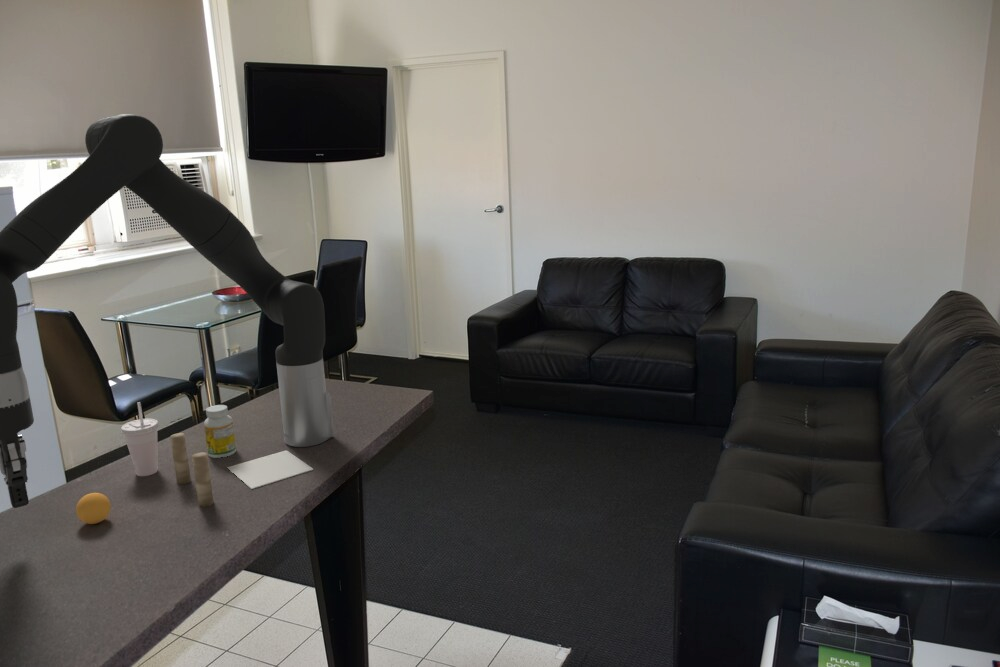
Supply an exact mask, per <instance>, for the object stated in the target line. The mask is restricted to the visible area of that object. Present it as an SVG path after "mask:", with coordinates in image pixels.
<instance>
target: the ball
mask: <svg viewBox="0 0 1000 667" xmlns="http://www.w3.org/2000/svg"><path fill="white" fill-rule="evenodd" d="M111 508H112V507H111V501H110V500H109V498H108V497H107V495H104V494H102V493H100V492H90V493H88V494H85V495H83V496H82V497H81V498H80V499H79V500H78V502H77V504H76V506H75V513H76V516H77V518H78V519H79V520H80V521H81V522H83V523H85V524H87V525H88V524H89V525H93V524H94V525H95V524H98V523H101V522H102V521H104V520H105V519H107V517H108V516H109V514H110V512H111Z"/></svg>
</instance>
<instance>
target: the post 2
mask: <svg viewBox="0 0 1000 667" xmlns="http://www.w3.org/2000/svg"><path fill="white" fill-rule="evenodd" d="M191 460H192V467H193V473H194V479H195V481H194V482H195V488H196V494H197V501H198V506H199V507H201V508H208V507H209V506H212V505H214V503H215V502H214V496H213V494H214V493H213V489H212V488H213V487H212V481H211V472H210V466H209V458H208V452H205V451H204V452H203V451H202V452H201V451H200V452H196V453H194V454H192V455H191Z"/></svg>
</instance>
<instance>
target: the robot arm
mask: <svg viewBox="0 0 1000 667" xmlns="http://www.w3.org/2000/svg"><path fill="white" fill-rule="evenodd" d="M84 138H85V147H86V150H87V153H88V155H89V156H88V157H87V158H86V159H85V160H84V161H83V162H81V164H80V165H79V166H78V167H77V168H76V169H75V170H73V171H72V172H71V173H70V174H68V175H67V176H66V177H64V178H63V179H62V180H61V181H59V182H58V183H56V184H55V185H53V186H52V187H51V188H49V189H47V190H46V191H45V192H43V193H41V194H40V195H39V196H38V197H37V198H35V199H34V200H33V201H31V202H30V203H29V204H28V205H27V206H26V207H24V208H23V209H22V210H21V211H20V212H19V213H18V214H17V215H15V216H14V218H12V220H10V221H9V222H8V224H6V226H4V227H3V229H1V231H0V473H1V475H3V477H4V478H3V481H4V483H5V485H6V486H7V490H8V497H9V501H10V504H11V506H12V508H14V509H18V508H20V507H21V508H22V507H24V506H28V504H29V502H30V501H29V495H28V490H27V486H26V485H27V484H26V483H28V480H29V478H28V474H27V473H28V472H27V471H28V470H27V469H28V462H27V457H26V452H27V445H26V441H25V439H24V438H23V435H22V434H18V433H20V432H21V431H23V430H24V431H25V430H27V429H28V428H30V427H31V426H32V425H33V424H34V422H35V419H34V413H33V408H32V403H31V397H30V392H29V386H28V385H29V384H28V381H27V377H26V374H25V372H24V369H23V364H22V359H21V352H20V347H19V343H18V340H17V334H18V333H17V331H18V318H19V317H18V314H19V313H18V312H19V308H18V298H17V293H16V290H15V286H14V285H13V282H15V281H16V280H18V278H20V277H21V276H22V275H23V274H26V273H28V272H29V273H30V272H32V271H36V270H37V269H39V268H40V267H42V265H44V264H45V263H46V262H47V260H49V259H50V257H51V256H53V254H54V253H55V252H56V251H57V250H58V249H60V247H62V245H63V244H64V243H65V242H66V241H67V240H68V239H69V238H70V237H71V236H72V235H73V234H74V233H75V232H76V231H77V230H78V228H80V227H81V225H82V224H83V223H84V222H86V221H87V220H88V218H90V217H91V216H92V215H93V214H94V213H95V212H96V211H97V210H98V209H99V208H100V207H101V206H102V205H104V204H105V203H106V202H107V201H108V200H109V199H110V198H112V197H113V196H115V194H117V193H118V192H119V191H120V190H122V189H123V188H124V187H125V188H127V189H128V190H130V191H131V192H132V193H134V194H135V195H136V196H138V197H139V199H140V198H141V199H142V200H143V202H145V203H146V204H147V205H148V206H149V207H150V208H151V209H152V210H154V211H155V213H156V214H157V215H158V216H159V217H161V219H163V220H164V222H165V223H167V224H168V225H169V226H170V227H171V228H172V229H173V230H175V231H176V232H177V234H179V235H180V236H181V237H182V238H183V239H184V240H185V241H186V242H187V243H188V244H189V245H190V246H191V247H193V248H194V249H195V250H196V251H197V252H198V253H199V254H200V255H202V256H203V257H204V258H205V259H206V260H207V261H208V262H210V263H211V264H212V265H213V266H215V268H216V269H218V270H219V271H220V272H222V273H223V274H224V275H225V276H227V277H228V278H229V279H230V280H231V281H233V282H234V283H235V284H237V285H238V286H239V287H240V288H241V289H242V290H243V291H244V292H245V293H246V294H247V295H248V296H249V297H250V299H251V300H252V301H253V302H254V303H255V305H257V307H259V309H260V310H261V311H262V312H263V314H265V315H266V317H267V318H269V320H271V321H272V322H273V323H275V324H278V325H279V326H283V343H282V344H280V345H278V346H277V347H275V348H276V349H275V353H274V354H275V363H276V364H275V365H276V370H277V371H276V372H277V381H278V392H279V401H280V410H281V411H280V412H281V420H282V428H283V439H284V444H286V445H288V446H292V447H297V448H298V447H299V448H303V447H304V448H305V447H306V448H307V447H312V446H313V447H314V446H317V445H319V444H323V443H325V442H326V441H327V440H329V439H331V438H333V437H335V435H334V433H335V432H334V423H333V422H334V421H333V412H332V411H333V410H332V399H331V394H330V393H329V392H328V391H327V387H326V377H325V375H326V374H325V366H324V353H323V352H324V351H323V350H324V347H325V344H326V318H325V316H326V315H325V304H324V300H323V296H322V294H321V292H320V290H318V288H317V287H315V286H314V285H312V284H310V283H306V282H301V281H296V280H292V279H290V278H288V277H287V276H285V275H283V273H281V272H280V271H279V270H278V269H276V268H275V267H274V266H273V265H271V263H270V262H268V261H267V260H266V258H265V257H264V256H263V255H262V253H261V252H260V249H259V248H258V246H257V243H256V241H255V239H254V237H253V235H252V234H251V232H250V230H249V229H248V228H247V227H246V226H245V224H244V223H243V222H242V220H240V219H239V218H238V217H237V216H236V215H235V214H234V213H233V212H232V211H231V210H230V209H229V208H228V207H227V206H226V205H224V203H222V202H221V201H219V200H218V199H216V198H215V197H214V196H212V195H211V194H209V193H208V192H206V191H204V190H202V189H200V187H197V186H196V185H194V184H192V183H191V182H189V181H188V180H185V179H184V178H183V177H181V176H179V174H176V173H175V172H174V171H173V170H172V169H170V168H169V167H168V166H167V165H166V164H165V163H164V162H163V161H162V160H161V159H160V158H161V157H162V153H163V150H164V142H163V141H164V140H163V137H162V133H161V132H160V130H159V128H158V127H157V125H155V123H153V122H152V121H151V120H150V119H148V118H146V117H144V116H142V115H139V114H133V113H127V114H126V113H122V114H118V115H112V116H107V117H104V118H101V119H98V120H96V121H94V122H93V123H91V124H90V125H89V127H88V128H87V130H86V133H85V137H84Z"/></svg>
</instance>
